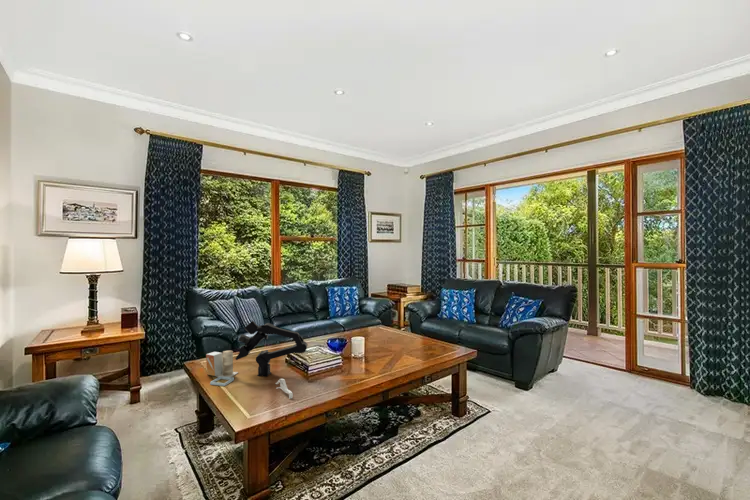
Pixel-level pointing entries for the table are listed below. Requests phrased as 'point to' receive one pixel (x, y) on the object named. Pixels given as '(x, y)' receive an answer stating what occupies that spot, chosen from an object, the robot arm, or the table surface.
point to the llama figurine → (284, 387)
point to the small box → (214, 363)
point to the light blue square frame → (222, 383)
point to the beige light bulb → (227, 363)
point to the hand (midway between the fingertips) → (238, 357)
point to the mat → (229, 375)
